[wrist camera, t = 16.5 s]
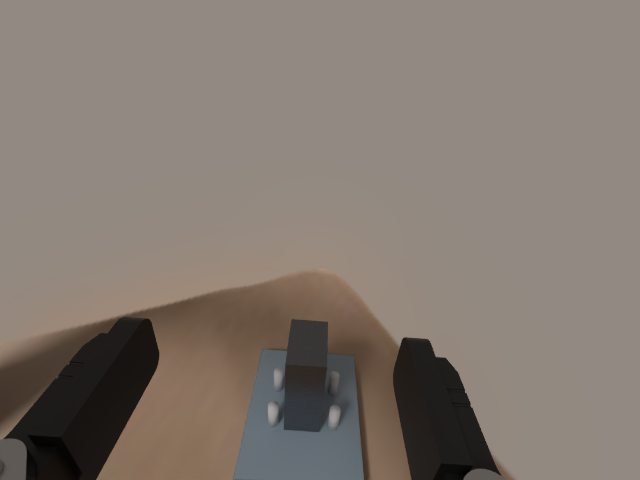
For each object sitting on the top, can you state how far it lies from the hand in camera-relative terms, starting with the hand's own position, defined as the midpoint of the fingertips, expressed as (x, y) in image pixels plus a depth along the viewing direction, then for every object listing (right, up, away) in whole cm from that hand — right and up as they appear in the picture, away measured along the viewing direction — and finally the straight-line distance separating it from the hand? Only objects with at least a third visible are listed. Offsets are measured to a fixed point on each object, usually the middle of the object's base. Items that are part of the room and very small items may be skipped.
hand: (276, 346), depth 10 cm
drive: (-1, -17, +28) cm, 33 cm away
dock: (-1, -18, +29) cm, 34 cm away
